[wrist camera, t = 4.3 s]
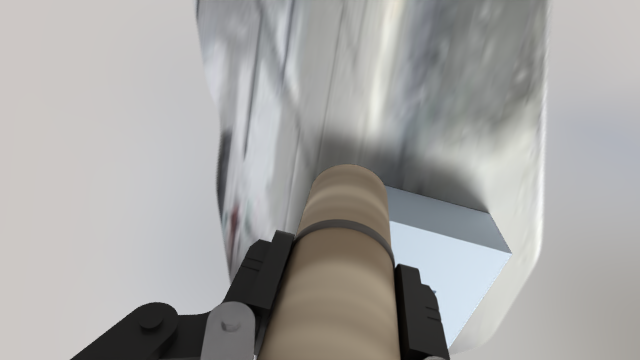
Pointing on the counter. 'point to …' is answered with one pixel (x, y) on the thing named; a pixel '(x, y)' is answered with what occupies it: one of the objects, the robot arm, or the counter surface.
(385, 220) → the peg
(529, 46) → the counter surface
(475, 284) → the socket block
